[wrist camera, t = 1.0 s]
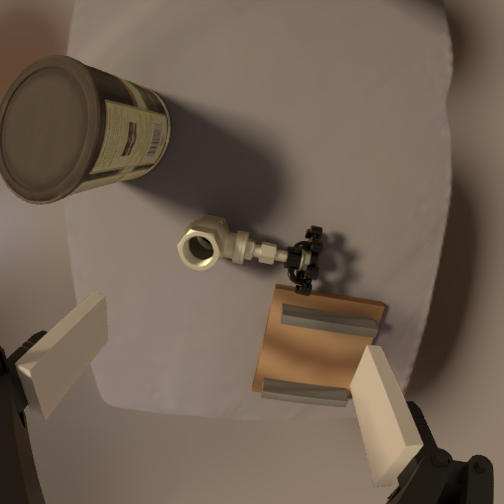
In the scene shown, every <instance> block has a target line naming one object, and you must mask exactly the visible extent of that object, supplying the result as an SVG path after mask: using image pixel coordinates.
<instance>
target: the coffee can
mask: <svg viewBox="0 0 504 504" xmlns="http://www.w3.org/2000/svg"><path fill="white" fill-rule="evenodd" d="M170 132H171V124H170V116H169V113H168V110H167V108H166V106H165V104H164V102H163V101H162V99H161V98H160V97H159V96H158V95H157V94H156V93H155V92H153V91H152V90H151V89H149V88H147V87H144V86H140V85H137V84H135V83H132V82H129V81H127V80H124V79H121V78H119V77H116V76H114V75H111V74H109V73H106V72H103V71H101V70H99V69H96V68H93V67H90V66H87V65H84V64H83V63H81V62H80V61H78V60H76V59H74V58H71V57H68V56H63V55H52V56H47V57H44V58H41V59H39V60H37V61H35V62H33V63H32V64H30V65H29V66H28V67H26V68H25V69H24V70H23V71H22V72H21V73H20V74H19V75H18V76H17V77H16V78H15V79H14V81H13V82H12V83H11V85H10V87H9V88H8V90H7V91H6V93H5V95H4V97H3V99H2V102H1V104H0V174H1V176H2V178H3V180H4V182H5V184H6V185H7V187H8V188H9V189H10V190H11V191H12V192H13V193H14V194H15V195H16V196H17V197H18V198H20V199H22V200H24V201H26V202H28V203H32V204H49V203H53V202H55V201H58V200H60V199H63V198H65V197H66V196H68V195H72V194H75V193H79V192H82V191H86V190H89V189H93V188H97V187H100V186H104V185H108V184H112V183H116V182H120V181H124V180H131V179H136V178H138V177H140V176H143V175H145V174H146V173H148V172H149V171H150V170H152V169H153V168H154V167H155V166H156V165H157V164H158V162H159V161H160V160H161V158H162V157H163V156H164V153H165V151H166V149H167V146H168V143H169V139H170Z"/></svg>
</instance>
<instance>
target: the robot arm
mask: <svg viewBox="0 0 504 504" xmlns="http://www.w3.org/2000/svg"><path fill="white" fill-rule="evenodd" d="M107 341H108V326H107V302H106V295H104V294H100V293H96V292H93V293H92V294H91V295H89V296H88V297H87V298H86V299H85V300H84V301H82V302H81V303H80V304H79V305H78V306H77V307H76V308H75V309H73V310H72V311H71V312H70V313H69V314H68V315H67V316H66V317H64V318H63V319H62V320H61V321H60V322H59V323H58V324H57V325H55V326H54V327H53V328H52V329H51V330H50V331H49V332H46V331H41V332H38V333H36V334H34V335H33V336H31V338H29V339H28V340H27V342H25V343H24V344H23V345H22V347H19V348H18V349H17V350H16V351H15V352H14V353H13V354H12V355H11V356H10V357H8V358H7V359H6V356H5V352H4V349H3V348H1V346H0V504H45V501H44V497H43V494H42V490H41V487H40V483H39V479H38V475H37V471H36V467H35V463H34V459H33V454H32V449H31V444H30V439H29V434H28V428H27V422H26V416H25V412H24V409H25V407H26V406H27V405H28V406H29V408H30V411H31V414H33V415H35V416H37V417H39V418H41V419H43V420H45V421H46V420H47V418H48V417H49V415H50V414H51V413H52V412H53V410H54V409H55V408H56V406H57V405H58V404H59V402H60V401H61V400H62V398H63V397H64V396H65V394H66V393H67V392H68V391H69V389H70V388H71V387H72V385H73V384H74V383H75V381H76V380H77V379H78V377H79V376H80V375H81V374H82V372H83V371H84V370H85V369H86V367H87V366H88V365H89V364H90V362H91V361H92V360H93V359H94V357H95V356H96V355H97V354H98V352H99V351H100V350H101V349H102V347H103V346H104V345H105V344H106V342H107ZM350 390H351V394H352V398H353V402H354V405H355V409H356V413H357V417H358V421H359V425H360V429H361V434H362V438H363V442H364V446H365V451H366V455H367V459H368V464H369V468H370V472H371V476H372V482H373V487H384V486H391V485H392V483H393V482H394V481H395V480H396V479H398V483H399V486H398V487H397V488H396V489H395V491H394V492H393V493H392V494H391V495H390V496H389V497H388V499H389V500H388V502H387V503H386V504H493V494H494V493H493V492H494V489H493V488H494V482H493V481H494V476H493V465H492V463H491V462H490V460H489V459H488V458H486V457H485V456H482V455H475V456H472V457H471V459H470V460H469V461H468V462H461V461H455V460H453V459H452V457H451V455H450V454H449V453H448V452H446V451H445V450H443V449H440V448H438V447H437V445H436V443H435V441H434V438H433V436H432V434H431V431H430V429H429V427H428V425H427V422H426V420H425V419H424V416H423V414H422V411H421V409H420V408H419V407H418V406H417V405H416V404H415V403H414V402H413V401H405V399H404V397H403V394H402V392H401V390H400V387H399V385H398V383H397V381H396V378H395V376H394V374H393V372H392V370H391V367H390V365H389V363H388V361H387V359H386V357H385V354H384V352H383V350H382V348H381V346H375V345H367V346H366V348H365V351H364V353H363V356H362V358H361V361H360V363H359V366H358V368H357V370H356V373H355V375H354V377H353V380H352V382H351V384H350Z"/></svg>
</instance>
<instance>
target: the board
mask: <svg viewBox="0 0 504 504" xmlns="http://www.w3.org/2000/svg"><path fill="white" fill-rule="evenodd" d="M384 309H385V306H384V304H383V303H382V302H379V301H373V300H367V299H361V298H355V297H349V296H343V295H337V294H331V293H325V292H320V291H314V290H312V291H311V294H310V296H304V295H299V294H296V293H295V287H291V286H286V285H280V284H276V285H275V289H274V294H273V298H272V303H271V307H270V312H269V316H268V321H267V325H266V329H265V334H264V338H263V343H262V347H261V351H260V355H259V360H258V364H257V368H256V372H255V376H254V381H253V385H252V391H254V392H260V393H262V394H261V397H262V398H268V399H275V400H282V401H290V402H298V403H306V404H315V405H325V406H336V407H345V406H346V404H347V402H348V397H349V394H350V392H351V390H350V384H351V382H352V380H353V377H354V375H355V373H356V370H357V368H358V366H359V363H360V361H361V358H362V356H363V353H364V351H365V348H366V346H367V345H371V343H372V341H373V338H376V335H377V333H378V330H379V329H378V325H379V322H380V320H381V317H382V314H383V312H384Z"/></svg>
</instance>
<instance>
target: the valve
mask: <svg viewBox="0 0 504 504" xmlns="http://www.w3.org/2000/svg"><path fill="white" fill-rule="evenodd" d="M321 236H322V227H317V226H313V225H312V226H311V228H310V229H307V231H306V235H305V238H308V239H309V240H308V241H301V242H298V243H297V244H295V246H294V247H291V246H288V248H287V251H283V250H278V249H277V245H276V244H272V243H268V242H262V245H258V244H256V243H255V240H253V239H249V232H245V231H240V230H239V231H238V232H237V233H231V232H230V230H229V227H228V225H227V222H226V219H225V218H222V217H217V216H212V215H205V216H204V217H203V218H200V219H197V220H195V221H194V222H192V223H191V224H190V225H189V226H188V228H187V229H186V231H185V234H184V238H183V239H182V240H181V242H180V243H179V244H178V245H177V248H178V251H179V254H180V257H181V259H182V261H183V263H184V265H185V267H187V268H190V269H194V270H199V271H205V272H208V271H209V269H210V268H211V267H212V266H213V265H214V264H215V263H216V262H217V261H219V260H220V259H221V258H223V257H225V258H230V259H232V263H236V264H241V265H242V264H243V262H244V259H247V260H251V259H252V257H258V258H259V262H262V263H267V264H273V263H274V260H277V261H282V262H284V268H288V277H289V279H290V280H291V281H292V282H293V283H295V284H299V285H301V286H299V285H296V287H295V293H296V294H299V295H304V296H310V294H311V291H312V284H311V282H312V279H314V280H316V279H317V277H318V273H319V267H318V266H317V261H318V256H319V255H321V253H322V250H323V242H321V241H319V240H320V239H321ZM202 237H205V238H206V239H208V240H209V241H210V242H211V244H210V243H207V242H206V241H204V240H203V238H202ZM294 270H297V271H296V276H295V275H294Z"/></svg>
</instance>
